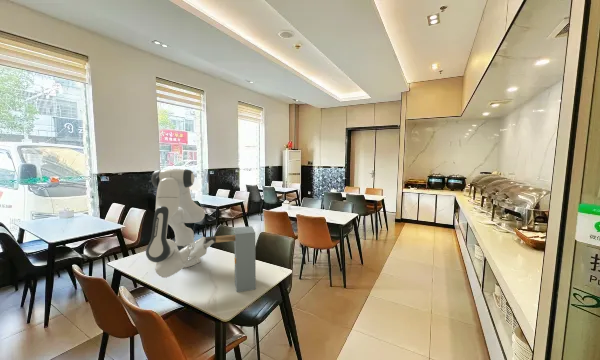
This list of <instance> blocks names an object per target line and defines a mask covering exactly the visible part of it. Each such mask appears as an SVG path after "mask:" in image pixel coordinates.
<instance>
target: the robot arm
mask: <svg viewBox="0 0 600 360" xmlns="http://www.w3.org/2000/svg"><path fill="white" fill-rule="evenodd" d="M194 183H195V174H194V172H193V171H192V170H191V169H181V168H172V169H170V168H169V169H163V170H162V169H158V170H155V171H154V172H152V174H151V184H152V186H153V187H154V188H156V196H155V209H154V211H155V212H154V217H153V221H152V230H151V237H150V240H149V243H148V244H147V247H146V249H145V255H146V258H147V259H148V260H149V261H150V262H152V263H155V267H154V270H155V272H156V274H157V275H158V276H159V277H161V278H166V279H167V278H170V277H172V276H174V275H175V274H177V273H178V272H180V271H181V270H182V269H185V268H191V267H192V266H195V265H197V264H200V263H201V258H202V257H204V256H205V255H206V254H207V250H208V248H209V247H211V245H213V244H215V243H214V240H213V239H212V240H210V241H209V242H208V243H206V240H205V239H206V237H205V236H202V237H201V238H198V239H196V240H194V239H195V235H194V234H195V233H194V232H195V231H193V229H192V228H191V227H187V226H186V224H193V223H199V222H202V221H203V220H204V218H205V216H206V212H205V210H204V208H203V207H201V206H199V204H197V203H196V202H194V200H193V199H192V195H191V189H190V187H192V186H193V185H194ZM168 226H170V227H171V229H172V230H173V232H174V238H175V239H174V240H175V241H174V240H173V239H168V238H167V234H168Z"/></svg>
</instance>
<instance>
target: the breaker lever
mask: <svg viewBox="0 0 600 360" xmlns="http://www.w3.org/2000/svg"><path fill="white" fill-rule="evenodd" d="M205 238H206V239H205V240H206V243H208V242H209V241H210V240H212V239H213V240H214V243H213V244H216V243H224V242H225V243H228V242H234V241H235V235H234V234H227V235H217V236H215V235H214V236H206V237H205Z"/></svg>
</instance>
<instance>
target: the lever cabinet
mask: <svg viewBox="0 0 600 360" xmlns="http://www.w3.org/2000/svg"><path fill="white" fill-rule="evenodd" d="M233 233H234V234H233V235H235V241H233V242H234V244H233V245H234V283H235V290H236V293H240V292H246V291H252V290H256V289H257V287H256V285H257V283H256V277H257V276H256V274H257V271H256V265H257V264H256V263H257V262H256V231H255V229H254V227H253V226H240V227H234V229H233Z"/></svg>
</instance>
